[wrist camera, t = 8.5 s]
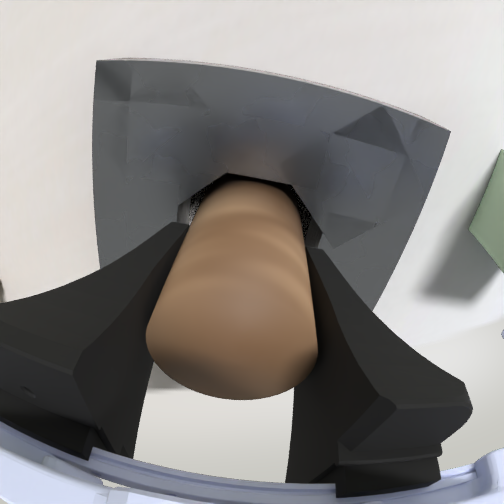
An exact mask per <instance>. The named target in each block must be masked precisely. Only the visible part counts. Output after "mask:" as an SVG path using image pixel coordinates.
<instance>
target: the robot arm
mask: <svg viewBox="0 0 504 504" xmlns="http://www.w3.org/2000/svg"><path fill="white" fill-rule="evenodd" d="M188 229H189V225H188V224H183V223H177V222H171V223H169V224H168V225H166V226H165V227H164V228H162V229H161V230H159V231H158V232H157V233H155V234H154V235H153V236H151V237H150V238H149V239H147V240H146V241H144V242H143V243H142V244H140V245H139V246H137V247H136V248H135V249H133V250H131V251H130V252H128V253H127V254H125V255H124V256H122V257H120V258H119V259H117V260H116V261H114V262H112V263H111V264H109V265H107V266H105V267H103V268H101V269H99V270H98V271H96V272H94V273H92V274H90V275H88V276H85V277H83V278H80V279H78V280H76V281H73V282H71V283H69V284H66V285H64V286H61V287H59V288H56V289H53V290H50V291H47V292H44V293H41V294H38V295H34V296H31V297H27V298H23V299H19V300H14V301H10V302H6V303H1V304H0V498H1V499H3V500H4V501H6V502H8V503H9V504H504V448H501V449H497V450H494V451H492V452H490V453H488V454H486V455H484V456H483V457H481V458H480V459H478V460H477V461H476V462H475V463H473V464H469V465H465V466H461V467H457V468H452V469H448V470H443V471H440V470H439V464H438V460H437V457H439V456H441V455H442V447H441V443H442V442H443V441H444V440H446V439H447V438H448V437H449V436H451V435H452V434H453V433H454V432H456V431H457V430H458V429H460V428H461V427H462V426H463V425H464V423H466V422H467V420H468V419H469V418H470V416H471V414H472V410H473V407H472V404H471V401H470V398H469V396H468V392H467V390H466V387H465V384H464V382H462V381H461V380H459V379H457V378H456V377H454V376H452V375H451V374H449V373H447V372H445V371H444V370H442V369H441V368H439V367H437V366H436V365H434V364H433V363H432V362H430V361H429V360H427V359H426V358H425V357H423V356H421V355H420V354H419V353H418V352H416V351H415V350H414V349H413V348H411V347H410V346H409V345H408V344H406V343H405V342H404V341H403V340H402V339H401V338H399V337H398V336H397V335H396V334H395V333H394V332H393V331H391V330H390V329H389V328H388V327H387V326H386V325H385V324H384V323H383V322H382V321H381V320H380V319H379V318H378V317H377V316H376V315H375V314H374V313H373V312H372V311H371V310H370V308H369V307H368V306H367V305H366V304H365V303H364V302H363V300H362V299H361V298H360V297H359V296H358V294H357V293H356V292H355V291H354V290H353V288H352V287H351V286H350V285H349V283H348V282H347V281H346V279H345V278H344V277H343V275H342V274H341V273H340V271H339V270H338V269H337V267H336V266H335V265H334V263H333V262H332V260H331V259H330V258H329V256H328V255H327V254H326V253H325V251H324V250H323V249H318V248H313V247H307V246H306V247H305V251H306V258H307V265H308V272H309V280H310V287H311V295H312V303H313V311H314V319H315V328H316V337H317V346H318V355H317V361H316V363H315V366H314V368H313V369H312V371H311V373H310V374H309V375H308V376H307V377H306V378H305V379H304V380H303V381H302V382H301V383H299V384H298V385H296V386H295V387H294V403H293V418H292V419H293V420H292V431H291V441H290V450H289V459H288V466H287V473H286V480H285V483H273V482H259V481H248V480H239V479H230V478H223V477H216V476H209V475H203V474H197V473H191V472H186V471H181V470H175V469H171V468H167V467H162V466H157V465H154V464H149V463H146V462H142V461H138V460H134V459H133V456H134V450H135V444H136V438H137V432H138V427H139V422H140V417H141V412H142V407H143V403H144V398H145V394H146V390H147V386H148V381H149V378H150V374H151V370H152V366H153V362H154V360H153V358H152V357H151V355H150V353H149V350H148V347H147V343H146V330H147V326H148V323H149V321H150V318H151V316H152V313H153V311H154V308H155V306H156V303H157V301H158V298H159V296H160V294H161V291H162V289H163V286H164V284H165V282H166V279H167V277H168V275H169V272H170V270H171V268H172V265H173V263H174V261H175V258H176V256H177V254H178V252H179V249H180V247H181V245H182V243H183V240H184V238H185V236H186V234H187V231H188ZM501 335H502V337H503V339H504V330H503V332H502V334H501ZM95 476H96V477H95ZM97 477H99V478H102V479H105V480H108V481H111V482H114V483H117V484H121V485H124V486H127V487H131V488H125V487H116V488H112V487H108V486H104V485H103V482H102V481H101V479H99V478H97Z"/></svg>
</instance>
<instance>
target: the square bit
mask: <svg viewBox="0 0 504 504" xmlns="http://www.w3.org/2000/svg"><path fill="white" fill-rule="evenodd" d="M468 230H469V231H470V232H471V233H472V234H473V236H474V237H475V238H476V239H477V240H478V241H479V243H480V244H481V245H482V246H483V248H484V249H485V250H486V251H487V253H488V254H489V255H490V256H491V258H492V259H493V260H494V261H495V263H496V264H497V265H498V267H499V268H500V269H501V271H502V272H503V273H504V150H503V149H501V152H500V155H499V158H498V160H497V163H496V166H495V168H494V171H493V174H492V176H491V179H490V181H489V184H488V186H487V189H486V191H485V194H484V196H483V198H482V201H481V203H480V205H479V207H478V210H477V212H476V214H475V216H474V218H473V221H472V223H471V225H470V227H469V229H468Z"/></svg>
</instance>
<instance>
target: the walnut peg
mask: <svg viewBox="0 0 504 504" xmlns="http://www.w3.org/2000/svg"><path fill="white" fill-rule="evenodd" d="M146 343H147V347H148V350H149V353H150V355H151V357H152V358H153V360H154V362H155V363H156V364H157V365H158V366H159V368H160V369H161V370H162V371H163V372H164V373H165V374H167V375H168V376H169V377H170V378H172V379H173V380H175V381H176V382H178V383H179V384H181V385H183V386H185V387H187V388H189V389H191V390H194V391H196V392H199V393H202V394H205V395H208V396H212V397H217V398H222V399H231V400H253V399H261V398H266V397H271V396H274V395H278V394H281V393H283V392H286V391H288V390H290V389H291V388H293V387H295V386H296V385H298V384H299V383H301V382H302V381H303V380H304V379H305V378H306V377H307V376H308V375H309V374H310V373H311V371H312V369H313V368H314V366H315V363H316V361H317V355H318V346H317V337H316V328H315V319H314V311H313V303H312V295H311V287H310V280H309V272H308V265H307V258H306V251H305V244H304V237H303V231H302V224H301V218H300V212H299V206H298V202H297V200H296V197H295V195H294V194H293V192H292V190H291V189H290V188H289V187H288V186H287V184H285V183H280V182H275V181H270V180H265V179H260V178H255V177H249V176H244V175H239V174H233V173H227V174H225V175H223V176H221V177H220V178H218V179H217V180H216V181H215V182H213V183H212V185H211V186H210V187H209V188H208V190H207V191H206V193H205V195H204V197H203V199H202V201H201V203H200V205H199V208H198V210H197V212H196V214H195V216H194V218H193V220H192V223H191V225H190V227H189V229H188V231H187V234H186V236H185V238H184V240H183V243H182V245H181V247H180V249H179V252H178V254H177V256H176V258H175V261H174V263H173V265H172V268H171V270H170V272H169V275H168V277H167V279H166V282H165V284H164V286H163V289H162V291H161V294H160V296H159V298H158V301H157V303H156V306H155V308H154V311H153V313H152V316H151V318H150V321H149V323H148V326H147V330H146Z"/></svg>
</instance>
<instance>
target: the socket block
mask: <svg viewBox="0 0 504 504" xmlns="http://www.w3.org/2000/svg"><path fill="white" fill-rule="evenodd" d="M450 133H451V131H449V130H447V129H446V128H444V127H442V126H440V125H438V124H436V123H434V122H432V121H430V120H428V119H426V118H424V117H422V116H419V115H416V114H414V113H411V112H409V111H406V110H403V109H401V108H398V107H395V106H392V105H390V104H387V103H384V102H381V101H378V100H375V99H372V98H369V97H366V96H362V95H359V94H356V93H353V92H349V91H346V90H342V89H339V88H335V87H332V86H328V85H324V84H320V83H316V82H312V81H308V80H304V79H299V78H295V77H290V76H286V75H281V74H276V73H271V72H265V71H260V70H254V69H248V68H242V67H235V66H228V65H221V64H213V63H204V62H194V61H183V60H169V59H149V58H119V59H107V60H97V62H96V72H95V85H94V101H93V129H92V165H93V194H94V210H95V224H96V235H97V245H98V254H99V263H100V269H101V268H103V267H105V266H107V265H109V264H111V263H112V262H114V261H116V260H117V259H119V258H120V257H122V256H124V255H125V254H127V253H128V252H130V251H131V250H133V249H135V248H136V247H137V246H139V245H140V244H142V243H143V242H144V241H146V240H147V239H149V238H150V237H151V236H153V235H154V234H155V233H157V232H158V231H159V230H161V229H162V228H164V227H165V226H166V225H168V224H169V223H171V222H177V223H183V224H189V213H190V203H191V196H192V195H194V194H195V193H197V192H198V191H200V190H201V189H203V188H204V187H205V186H207V185H208V184H210V183H211V182H213V181H214V180H216V179H217V178H219V177H220V176H222V175H223V174H225V173H226V172H227V173H233V174H239V175H244V176H249V177H255V178H260V179H265V180H270V181H275V182H280V183H285V184H290V185H292V186H293V188H294V189H295V191H296V192H297V194H298V195H299V197H300V198H301V200H302V201H303V203H304V204H305V206H306V207H307V209H308V210H309V212H310V213H311V215H312V217H311V220H310V223H309V227H308V230H307V233H306V236H305V240H304V244H305V247H306V246H307V247H313V248H318V249H323V250H324V251H325V253H326V254H327V255H328V256H329V258H330V259H331V260H332V262H333V263H334V265H335V266H336V267H337V269H338V270H339V271H340V273H341V274H342V275H343V277H344V278H345V279H346V281H347V282H348V283H349V285H350V286H351V287H352V288H353V290H354V291H355V292H356V293H357V294H358V296H359V297H360V298H361V299H362V300H363V302H364V303H365V304H366V305H367V306H368V307H369V308H370V310H371V311H373V309H374V307H375V306H376V304H377V302H378V300H379V298H380V296H381V294H382V293H383V291H384V289H385V287H386V285H387V283H388V281H389V279H390V277H391V275H392V273H393V271H394V269H395V267H396V265H397V263H398V261H399V259H400V257H401V255H402V253H403V251H404V248H405V246H406V244H407V242H408V240H409V238H410V235H411V233H412V231H413V229H414V227H415V224H416V222H417V220H418V217H419V215H420V213H421V210H422V208H423V206H424V203H425V201H426V198H427V196H428V193H429V191H430V188H431V186H432V183H433V181H434V178H435V175H436V173H437V170H438V167H439V165H440V162H441V159H442V156H443V154H444V151H445V148H446V145H447V142H448V139H449V136H450ZM189 227H190V226H189Z"/></svg>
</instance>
